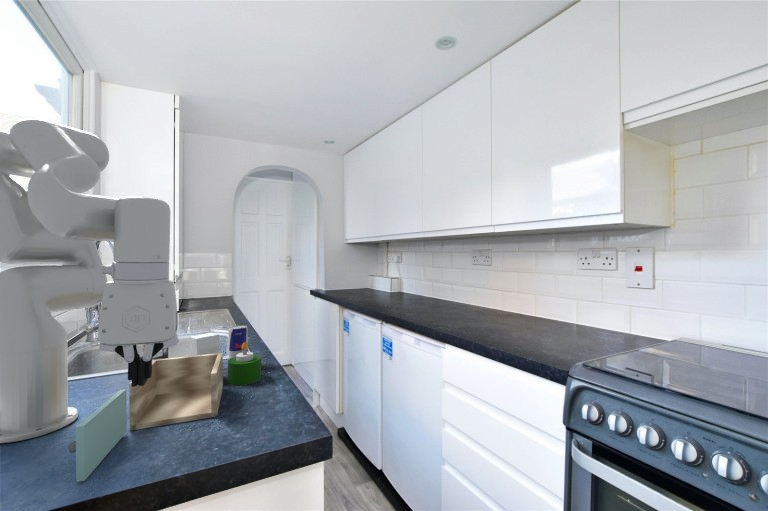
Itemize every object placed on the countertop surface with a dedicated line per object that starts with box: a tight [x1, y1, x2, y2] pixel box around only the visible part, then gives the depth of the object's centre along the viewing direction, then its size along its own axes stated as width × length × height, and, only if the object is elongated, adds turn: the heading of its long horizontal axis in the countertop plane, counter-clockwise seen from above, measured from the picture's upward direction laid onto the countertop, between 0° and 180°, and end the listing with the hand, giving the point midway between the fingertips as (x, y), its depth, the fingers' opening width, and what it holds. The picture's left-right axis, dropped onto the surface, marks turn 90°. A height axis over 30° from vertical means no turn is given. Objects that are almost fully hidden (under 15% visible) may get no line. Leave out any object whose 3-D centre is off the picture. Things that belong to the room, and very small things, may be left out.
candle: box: [227, 343, 262, 386], centre depth 92 cm, size 8×8×10 cm
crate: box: [128, 352, 224, 431], centre depth 75 cm, size 15×16×9 cm
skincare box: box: [189, 332, 221, 356], centre depth 92 cm, size 6×4×12 cm
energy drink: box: [227, 324, 249, 360], centre depth 102 cm, size 5×5×12 cm
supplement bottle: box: [142, 344, 169, 360], centre depth 98 cm, size 6×6×11 cm
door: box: [68, 388, 128, 483], centre depth 56 cm, size 14×2×8 cm, turn 17°
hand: (139, 383), depth 56 cm, fingers closed
